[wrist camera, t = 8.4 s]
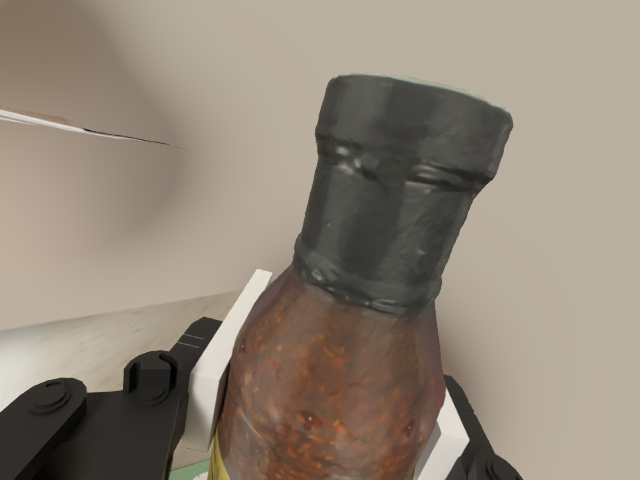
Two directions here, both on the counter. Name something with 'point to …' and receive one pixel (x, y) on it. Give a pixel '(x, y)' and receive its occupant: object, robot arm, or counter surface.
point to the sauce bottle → (360, 289)
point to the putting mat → (191, 472)
